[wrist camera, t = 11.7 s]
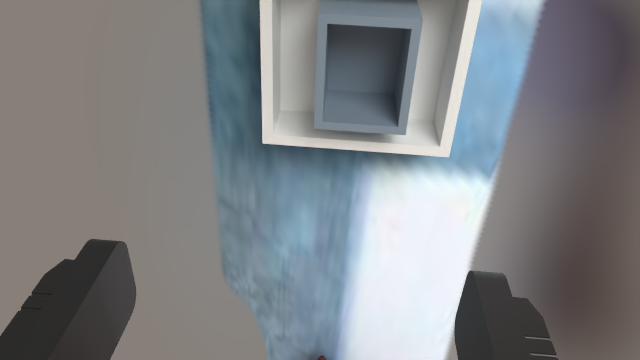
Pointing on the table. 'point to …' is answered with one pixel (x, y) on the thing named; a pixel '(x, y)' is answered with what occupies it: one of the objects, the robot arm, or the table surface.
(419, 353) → the table surface
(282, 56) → the white crate
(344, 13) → the slate crate
